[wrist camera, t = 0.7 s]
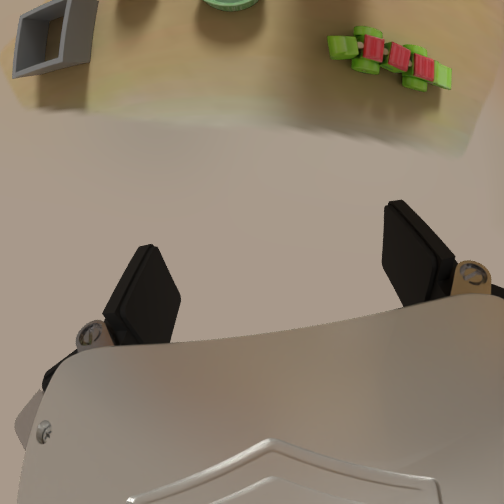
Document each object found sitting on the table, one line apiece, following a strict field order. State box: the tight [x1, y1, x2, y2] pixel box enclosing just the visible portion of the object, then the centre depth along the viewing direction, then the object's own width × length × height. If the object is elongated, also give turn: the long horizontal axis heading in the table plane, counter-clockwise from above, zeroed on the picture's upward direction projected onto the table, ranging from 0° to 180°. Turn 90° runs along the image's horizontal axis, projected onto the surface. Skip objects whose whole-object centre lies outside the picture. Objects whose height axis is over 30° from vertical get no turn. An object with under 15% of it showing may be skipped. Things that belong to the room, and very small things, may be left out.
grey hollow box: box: [12, 0, 99, 79], centre depth 21 cm, size 11×11×7 cm
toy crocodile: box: [327, 26, 452, 92], centre depth 25 cm, size 20×7×6 cm, turn 86°
